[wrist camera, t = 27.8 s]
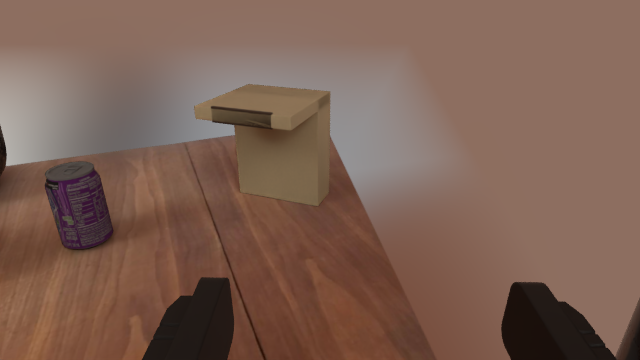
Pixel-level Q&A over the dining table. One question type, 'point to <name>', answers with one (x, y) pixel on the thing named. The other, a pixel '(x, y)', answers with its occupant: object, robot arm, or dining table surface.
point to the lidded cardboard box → (277, 139)
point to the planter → (2, 153)
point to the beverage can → (78, 204)
